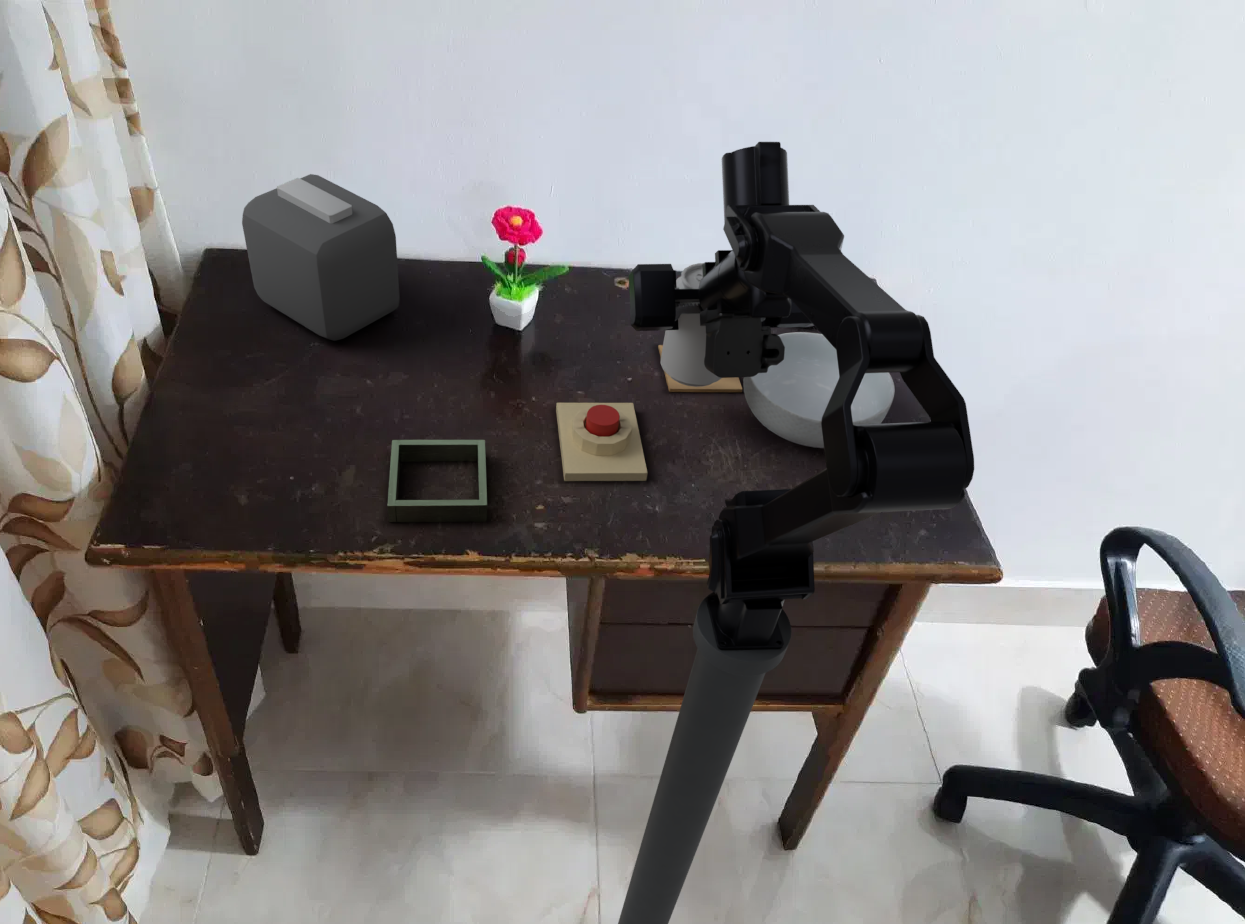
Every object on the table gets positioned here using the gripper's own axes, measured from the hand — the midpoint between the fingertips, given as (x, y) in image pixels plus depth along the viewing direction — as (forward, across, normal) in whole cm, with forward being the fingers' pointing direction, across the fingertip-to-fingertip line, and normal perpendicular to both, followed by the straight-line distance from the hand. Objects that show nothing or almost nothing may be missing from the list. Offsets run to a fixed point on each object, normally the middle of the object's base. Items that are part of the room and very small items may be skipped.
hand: (699, 313), depth 103 cm
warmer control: (+6, -11, -13) cm, 18 cm away
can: (+4, 0, -6) cm, 7 cm away
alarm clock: (+25, -42, +6) cm, 49 cm away
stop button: (+4, -11, -12) cm, 16 cm away
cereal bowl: (+8, +14, -12) cm, 20 cm away
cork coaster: (+15, +4, -4) cm, 16 cm away
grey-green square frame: (+1, -29, -18) cm, 34 cm away
